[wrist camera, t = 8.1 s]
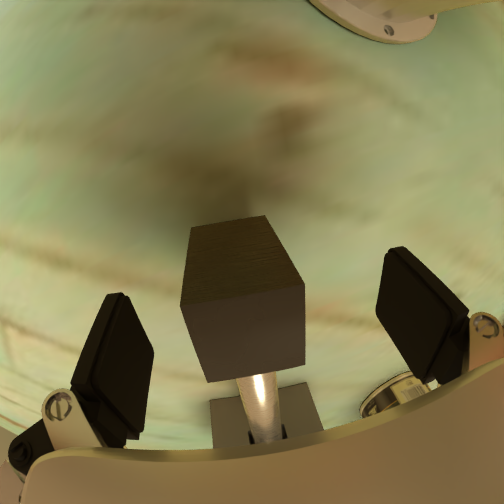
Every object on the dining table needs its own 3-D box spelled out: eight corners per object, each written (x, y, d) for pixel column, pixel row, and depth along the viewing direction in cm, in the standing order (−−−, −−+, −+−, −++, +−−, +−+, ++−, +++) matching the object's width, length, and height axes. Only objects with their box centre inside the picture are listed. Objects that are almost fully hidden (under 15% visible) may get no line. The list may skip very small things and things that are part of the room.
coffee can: (364, 423, 34) (397, 494, 21) (353, 399, 30) (395, 490, 17) (421, 390, 33) (461, 455, 21) (422, 358, 29) (476, 437, 16)
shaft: (191, 227, 15) (179, 305, 8) (264, 215, 15) (304, 283, 9) (249, 437, 26) (259, 491, 19) (284, 431, 26) (299, 483, 20)
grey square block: (209, 400, 25) (217, 488, 16) (306, 382, 26) (336, 465, 17) (225, 432, 29) (234, 503, 20) (304, 417, 29) (327, 485, 21)
